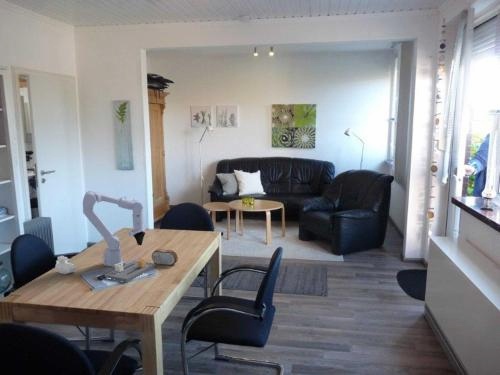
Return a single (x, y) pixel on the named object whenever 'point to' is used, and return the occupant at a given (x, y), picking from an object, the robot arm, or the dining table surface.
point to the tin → (164, 257)
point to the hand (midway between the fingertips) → (139, 244)
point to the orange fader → (141, 263)
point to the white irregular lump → (65, 266)
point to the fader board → (130, 271)
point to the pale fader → (118, 267)
